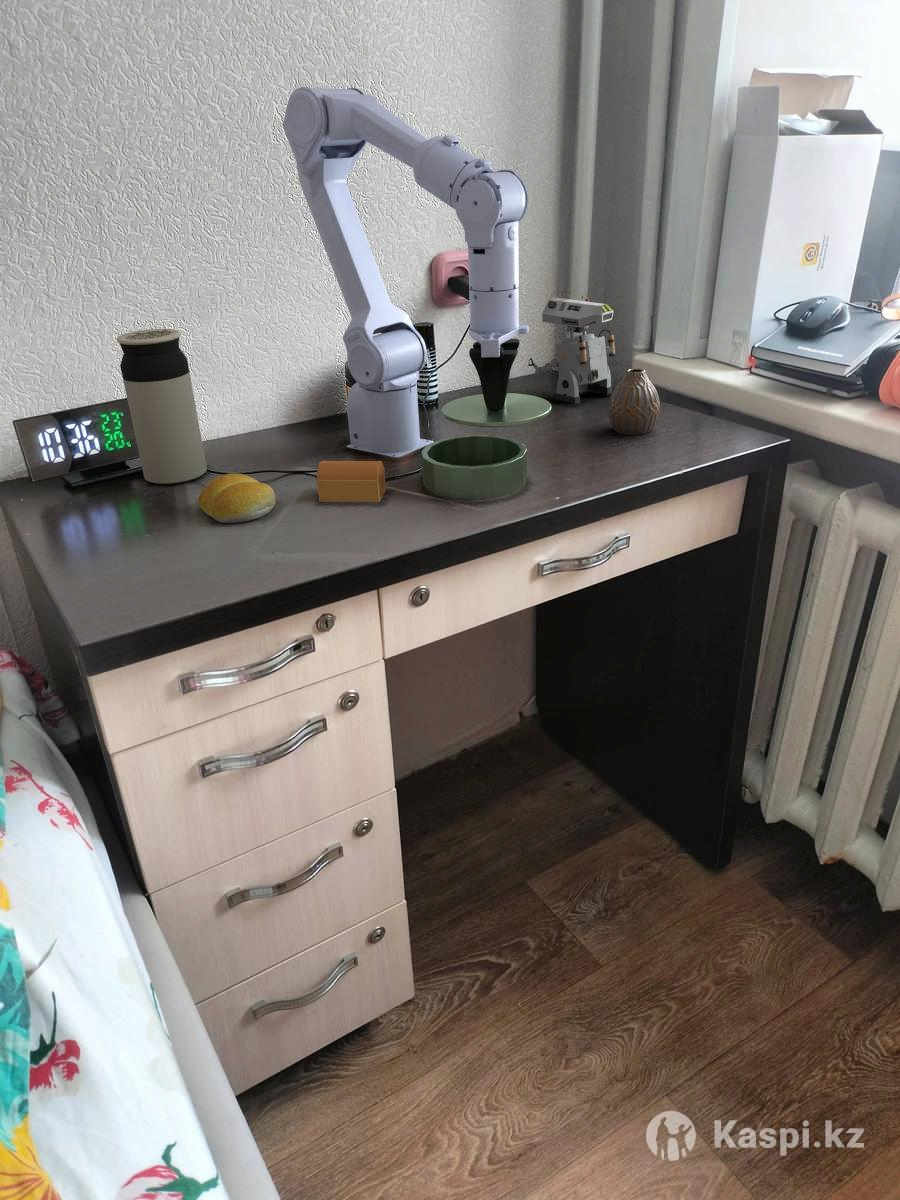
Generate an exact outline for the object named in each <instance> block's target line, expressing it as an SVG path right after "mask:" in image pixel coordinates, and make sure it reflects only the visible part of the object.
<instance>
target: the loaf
mask: <svg viewBox="0 0 900 1200" xmlns="http://www.w3.org/2000/svg"><path fill="white" fill-rule="evenodd" d="M385 473H386V472H385V467H384V463H383V461H381V460H320V461H319V463H318V466H317V471H316V487H317V493H318V502H321V503H322V502H323V503H327V502H329V503H380V501H381V499H382V498H383V496H384V494H385V493H386V490H387V486H386V474H385Z"/></svg>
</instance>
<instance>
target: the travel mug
mask: <svg viewBox="0 0 900 1200" xmlns="http://www.w3.org/2000/svg"><path fill="white" fill-rule="evenodd" d="M181 335H182V333H181V332H180V331H179V330H177V329H172V328H151V329H142V330H135V331H130V332H129V331H128V332H126V333H123V334H120V335H118V336H117V337H116V342H117V343H118V344H119V345H120V348H121V351H122V353H123V354H122V358H121V361H120V364H119V367H120V372H121V376H122V381H123V385H124V390H125V395H126V401H127V405H128V409H129V414H130V418H131V423H132V427H133V433H134V436H135V441H136V446H137V450H138V455H139V460H140V463H141V469H142V473H143V479H144V480H146V481H147V482H150V483H153V484H158V485H177V484H178V485H179V484H183V483H184V484H185V483H188V482H191V481H194V480H196V479H199V478H200V477H201V476H202V475H204V474H205V473H206V472H207V470H208V467H207V462H206V455H205V451H204V444H203V438H202V433H201V428H200V423H199V418H198V412H197V407H196V406H197V405H196V401H195V395H194V389H193V383H192V379H191V372H190V367H189V361H188V358H187V356H186V355H185V353H184V352H183V350H182V349H181V348H180V337H181Z"/></svg>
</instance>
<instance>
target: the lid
mask: <svg viewBox="0 0 900 1200" xmlns="http://www.w3.org/2000/svg"><path fill="white" fill-rule="evenodd" d="M551 412H552V404H551V402H549V401H548V400H547V399H544V398H542V397H539V396H536V395H532V394H531V395H530V394H524V393H511V392H507V395H506V400H505V404H504V408H499V409H487V408H486V405H485V401H484V397H483V393H479V394H472V395H467V396H463V397H459V398H456V399H453V400H450V401H448V402H447V403H445V404H444V405H443V406H442V408H441V415H442V416H443V418H445V419H446V420H447V421H450V422H453V423H456V424H459V425H464V426H471V427H480V428H505V427H514V426H519V425H526V424H529V423H534V422H536V421H537V422H538V421H540V420H542V419H545V418H546V417H548V416H549V415H551Z"/></svg>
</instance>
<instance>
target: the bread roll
mask: <svg viewBox="0 0 900 1200" xmlns="http://www.w3.org/2000/svg"><path fill="white" fill-rule="evenodd" d="M197 500H198V506H199V508H200V509H201V510H202V511H203V512H204V513H205V514H206V515H208V516H209V517H212V519H214V521H217V522H219V523H223V524H232V523H245V522H250V521H254V520H258V519H260V518H262V517H264V516H266V515H267V514H269V513H270V512H271V511H272V510H273V509H274V507H275V506H276V494H275V491H274V489H273V488H272V487H271V486H270V485H268V484H267V483H264V482H260V481H258V480H257V479H256V478H253V477H251V476H249V475H247V474H243V473H226V474H222V475H219V476H217V477H214V478H213V479H212V480H210V481H209V482H208V483H207V484H206V485H205V486H204V487H203V488H202V490H201V491H200V493H199V495H198V499H197Z"/></svg>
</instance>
